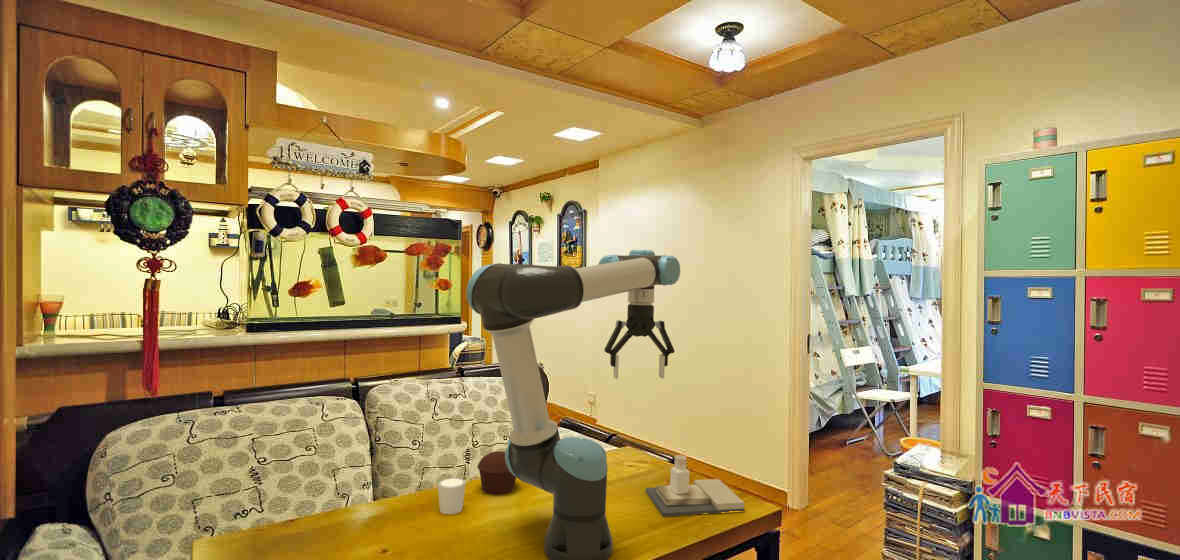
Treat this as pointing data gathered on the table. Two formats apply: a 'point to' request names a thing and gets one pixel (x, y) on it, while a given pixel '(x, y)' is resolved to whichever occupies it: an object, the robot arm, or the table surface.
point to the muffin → (496, 474)
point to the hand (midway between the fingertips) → (638, 377)
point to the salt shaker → (679, 476)
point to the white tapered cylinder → (451, 495)
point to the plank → (683, 496)
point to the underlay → (719, 502)
